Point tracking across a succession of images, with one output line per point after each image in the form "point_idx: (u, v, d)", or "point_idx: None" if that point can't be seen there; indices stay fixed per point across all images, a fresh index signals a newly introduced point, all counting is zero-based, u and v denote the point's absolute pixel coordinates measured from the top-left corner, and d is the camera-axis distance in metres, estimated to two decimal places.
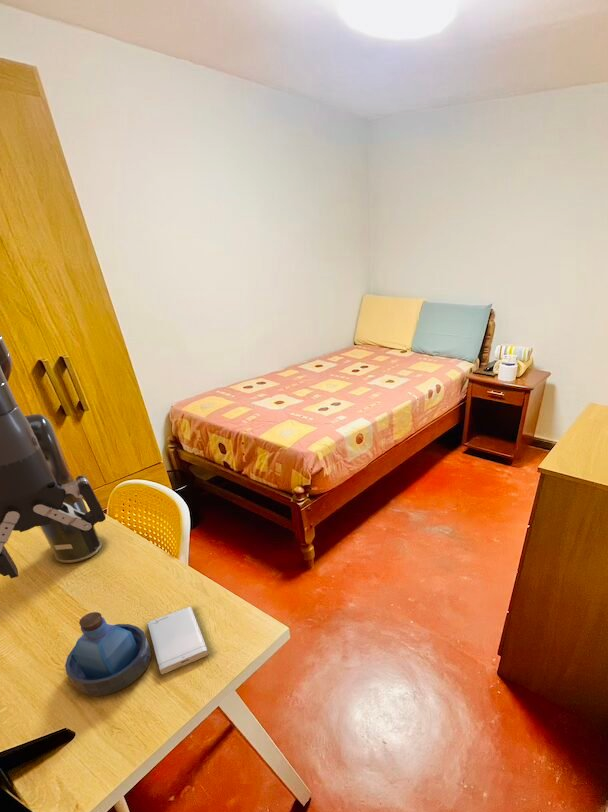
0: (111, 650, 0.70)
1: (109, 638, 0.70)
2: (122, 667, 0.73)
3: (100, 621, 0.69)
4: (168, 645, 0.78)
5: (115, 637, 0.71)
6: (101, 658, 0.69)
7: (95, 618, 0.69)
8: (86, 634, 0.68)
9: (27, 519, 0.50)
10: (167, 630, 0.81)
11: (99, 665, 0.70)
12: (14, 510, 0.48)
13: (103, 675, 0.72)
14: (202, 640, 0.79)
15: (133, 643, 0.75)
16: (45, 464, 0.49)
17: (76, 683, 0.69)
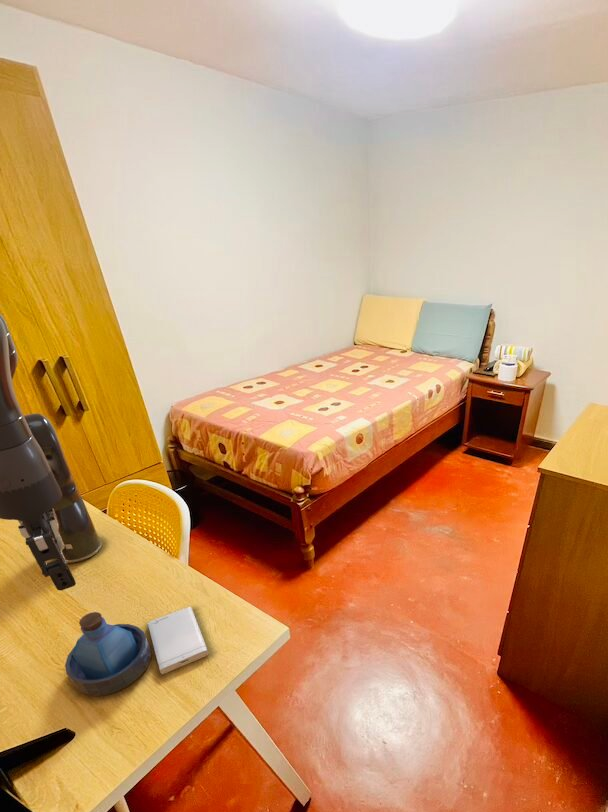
0: (111, 650, 0.70)
1: (109, 638, 0.70)
2: (122, 667, 0.73)
3: (100, 621, 0.69)
4: (168, 645, 0.78)
5: (115, 637, 0.71)
6: (101, 658, 0.69)
7: (95, 618, 0.69)
8: (86, 634, 0.68)
9: None
10: (167, 630, 0.81)
11: (99, 665, 0.70)
12: None
13: (103, 675, 0.72)
14: (202, 640, 0.79)
15: (133, 643, 0.75)
16: (12, 505, 0.51)
17: (76, 683, 0.69)
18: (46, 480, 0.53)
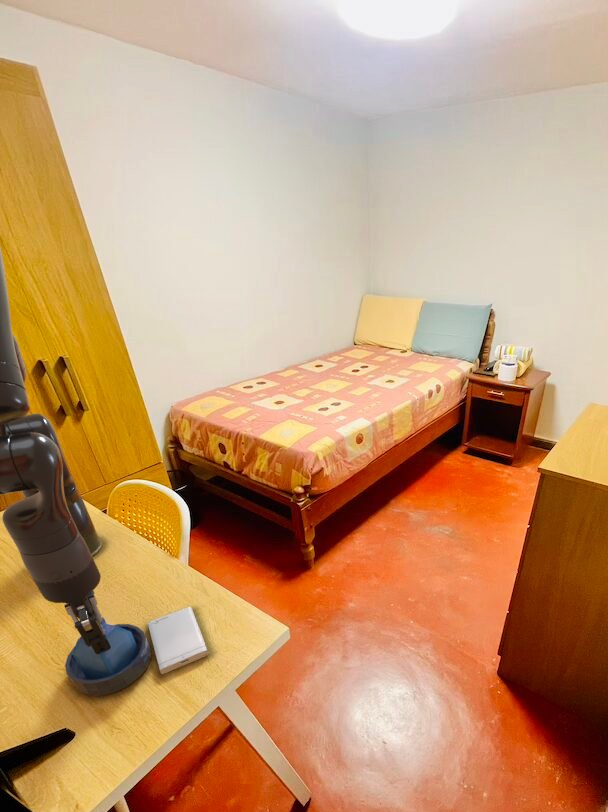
0: (111, 650, 0.70)
1: (109, 638, 0.70)
2: (122, 667, 0.73)
3: None
4: (168, 645, 0.78)
5: (115, 637, 0.71)
6: (101, 659, 0.69)
7: None
8: None
9: None
10: (167, 630, 0.81)
11: (99, 665, 0.70)
12: None
13: (103, 675, 0.72)
14: (202, 640, 0.79)
15: (133, 643, 0.75)
16: (61, 592, 0.60)
17: (76, 683, 0.69)
18: (89, 568, 0.62)
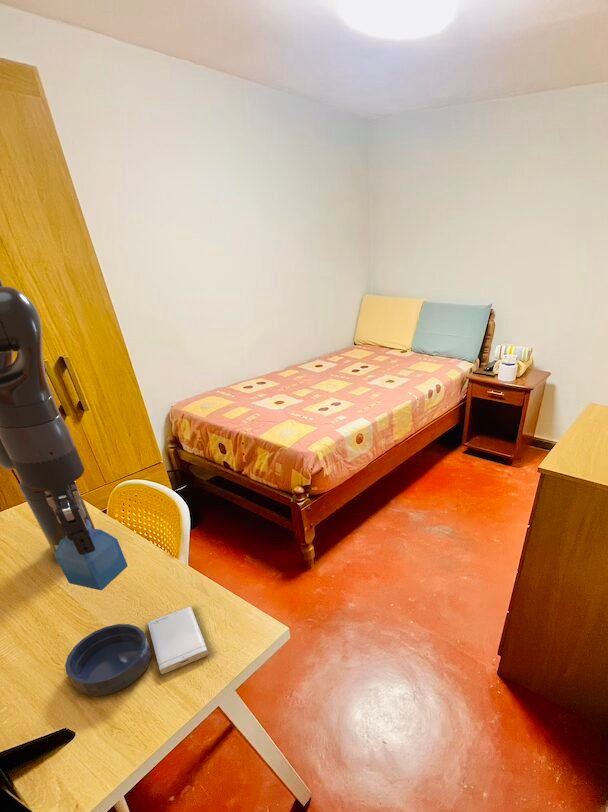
0: (95, 554, 0.67)
1: (94, 541, 0.67)
2: (107, 575, 0.70)
3: (84, 521, 0.66)
4: (168, 645, 0.78)
5: (100, 541, 0.68)
6: (84, 560, 0.66)
7: None
8: None
9: None
10: (167, 630, 0.81)
11: (83, 569, 0.67)
12: (46, 489, 0.62)
13: (87, 581, 0.69)
14: (202, 640, 0.79)
15: (119, 552, 0.72)
16: (41, 475, 0.57)
17: (76, 683, 0.69)
18: (71, 454, 0.59)
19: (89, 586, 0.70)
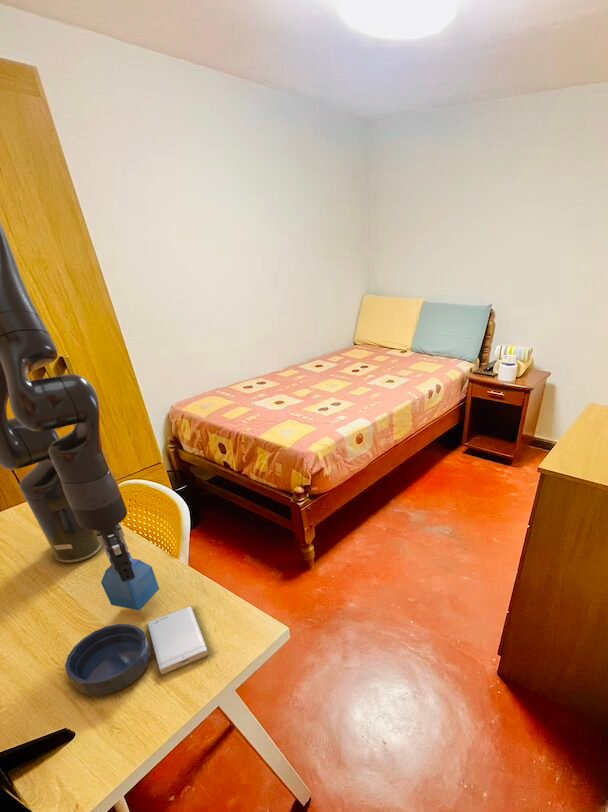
0: (135, 580, 0.80)
1: (133, 569, 0.80)
2: (144, 597, 0.83)
3: None
4: (168, 645, 0.78)
5: (138, 569, 0.81)
6: (126, 586, 0.79)
7: None
8: None
9: None
10: (167, 630, 0.81)
11: (124, 593, 0.80)
12: None
13: (127, 603, 0.82)
14: (202, 640, 0.79)
15: (153, 577, 0.85)
16: (95, 519, 0.70)
17: (76, 683, 0.69)
18: (118, 501, 0.72)
19: (129, 607, 0.82)
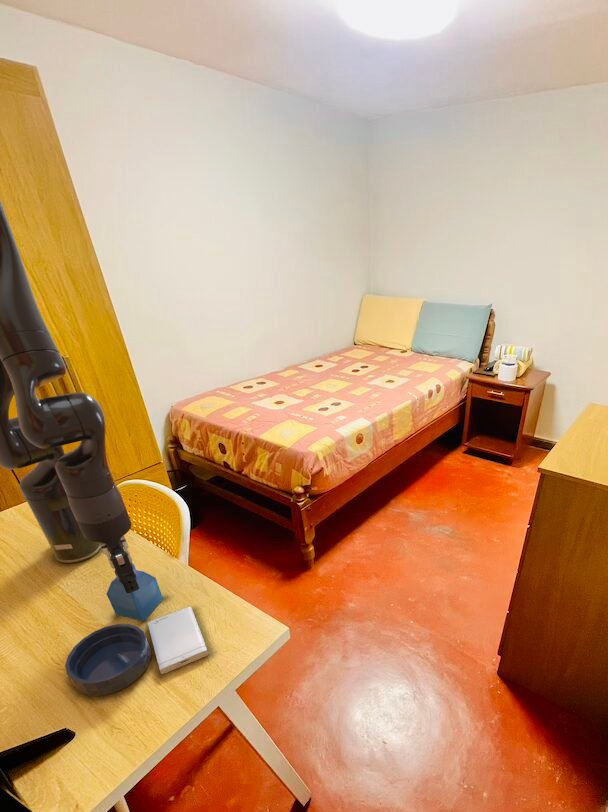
0: (140, 591, 0.82)
1: (138, 581, 0.82)
2: (148, 608, 0.85)
3: (131, 565, 0.80)
4: (168, 645, 0.78)
5: (143, 581, 0.83)
6: (131, 598, 0.81)
7: None
8: None
9: None
10: (167, 630, 0.81)
11: (129, 604, 0.82)
12: None
13: (132, 614, 0.83)
14: (202, 640, 0.79)
15: (157, 588, 0.87)
16: (101, 532, 0.71)
17: (76, 683, 0.69)
18: (123, 514, 0.73)
19: (134, 618, 0.84)
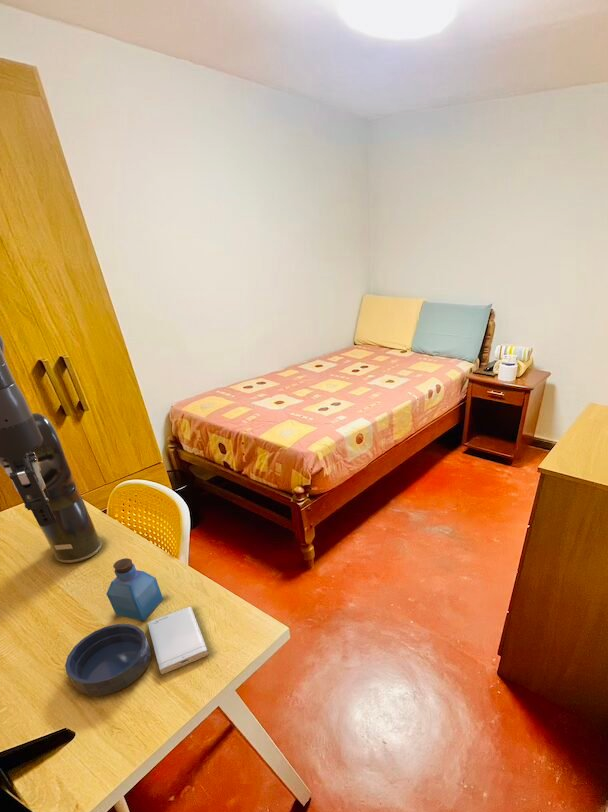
0: (140, 591, 0.82)
1: (138, 581, 0.82)
2: (148, 608, 0.85)
3: (131, 565, 0.80)
4: (168, 645, 0.78)
5: (143, 581, 0.83)
6: (131, 597, 0.81)
7: (126, 563, 0.80)
8: (119, 576, 0.80)
9: None
10: (167, 630, 0.81)
11: (129, 604, 0.82)
12: (4, 460, 0.63)
13: (132, 614, 0.83)
14: (202, 640, 0.79)
15: (157, 588, 0.87)
16: None
17: (76, 683, 0.69)
18: (28, 423, 0.60)
19: (134, 618, 0.84)
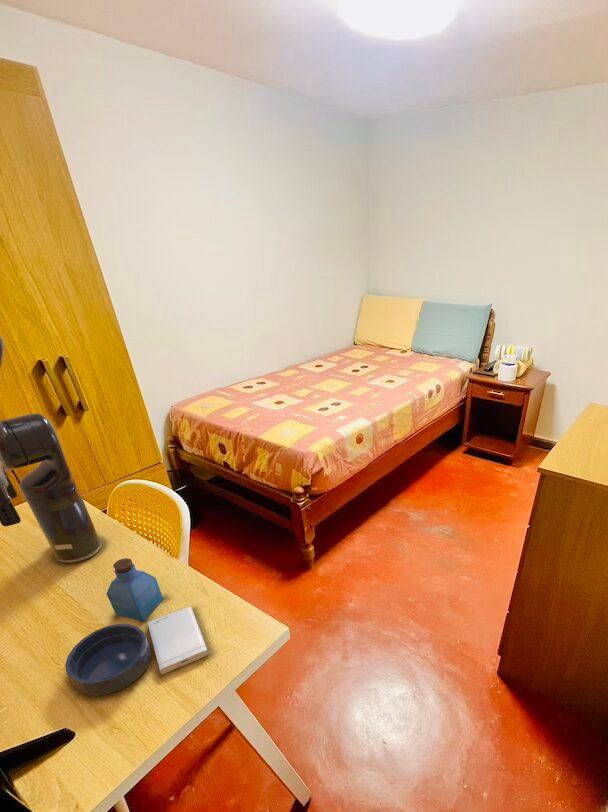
0: (139, 591, 0.82)
1: (138, 581, 0.82)
2: (148, 608, 0.85)
3: (131, 565, 0.80)
4: (168, 645, 0.78)
5: (143, 581, 0.83)
6: (131, 597, 0.81)
7: (126, 563, 0.80)
8: (119, 576, 0.80)
9: None
10: (167, 630, 0.81)
11: (129, 604, 0.82)
12: None
13: (132, 614, 0.83)
14: (202, 640, 0.79)
15: (157, 588, 0.87)
16: None
17: (76, 683, 0.69)
18: None
19: (134, 618, 0.84)
